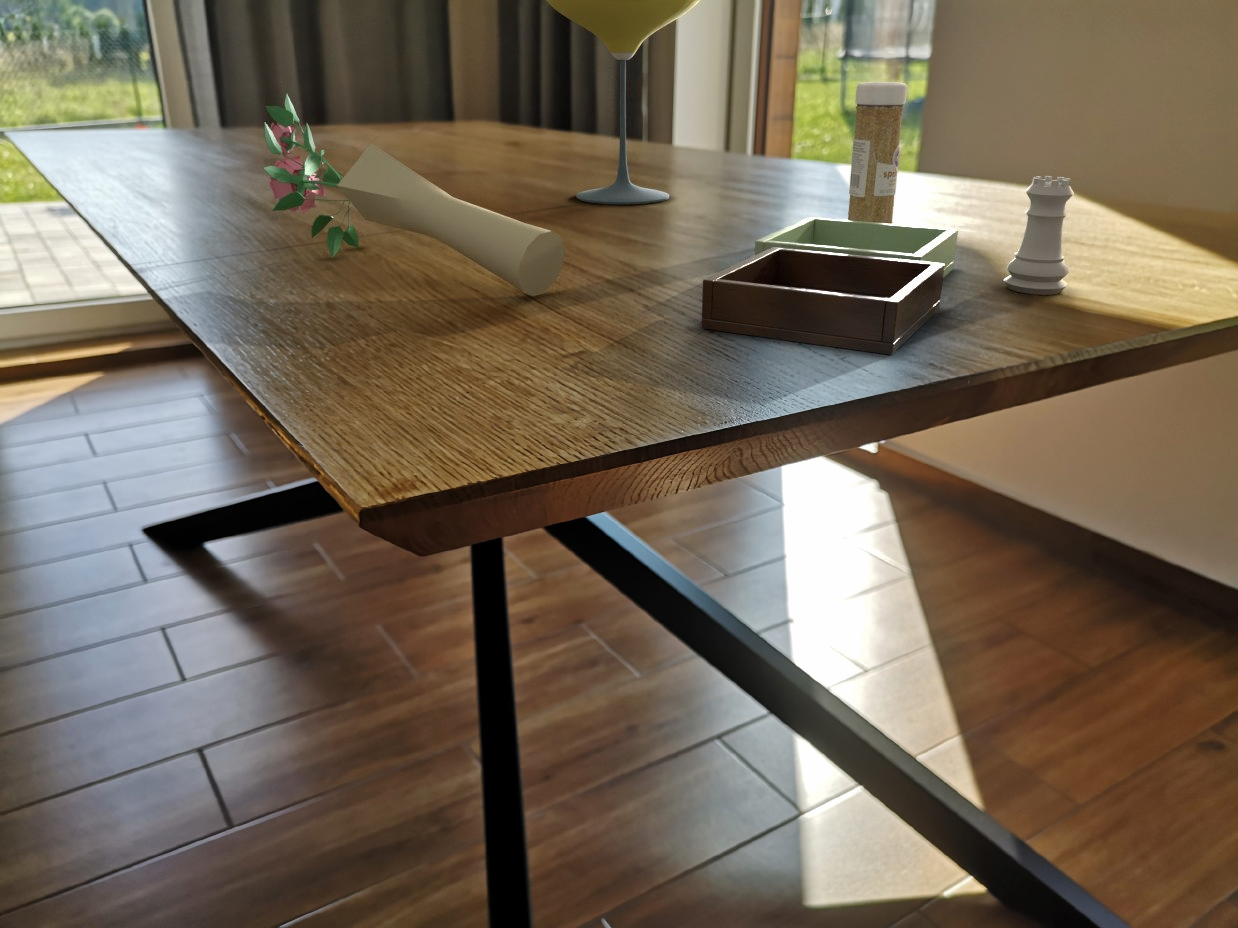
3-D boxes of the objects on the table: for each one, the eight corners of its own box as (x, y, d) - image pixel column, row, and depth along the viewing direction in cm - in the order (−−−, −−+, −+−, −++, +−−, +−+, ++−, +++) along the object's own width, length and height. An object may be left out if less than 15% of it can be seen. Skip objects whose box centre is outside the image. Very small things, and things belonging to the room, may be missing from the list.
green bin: (953, 269, 83) (958, 229, 82) (915, 301, 73) (921, 256, 72) (806, 254, 89) (809, 217, 87) (752, 283, 79) (755, 240, 77)
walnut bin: (939, 309, 71) (945, 263, 70) (892, 355, 61) (897, 302, 60) (770, 290, 76) (772, 246, 75) (701, 328, 66) (702, 279, 65)
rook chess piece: (1004, 280, 79) (1019, 173, 76) (1066, 285, 78) (1084, 176, 75) (1001, 292, 76) (1017, 180, 72) (1066, 297, 74) (1086, 183, 71)
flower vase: (494, 399, 76) (218, 241, 93) (601, 321, 83) (325, 186, 99) (475, 263, 68) (175, 116, 84) (596, 189, 75) (296, 66, 91)
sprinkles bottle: (894, 234, 98) (910, 83, 92) (845, 232, 98) (858, 83, 93) (890, 226, 102) (905, 81, 97) (843, 224, 102) (855, 81, 97)
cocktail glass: (536, 188, 126) (530, -38, 116) (680, 185, 129) (685, -36, 119) (555, 212, 110) (549, -49, 100) (718, 207, 113) (728, -47, 103)
